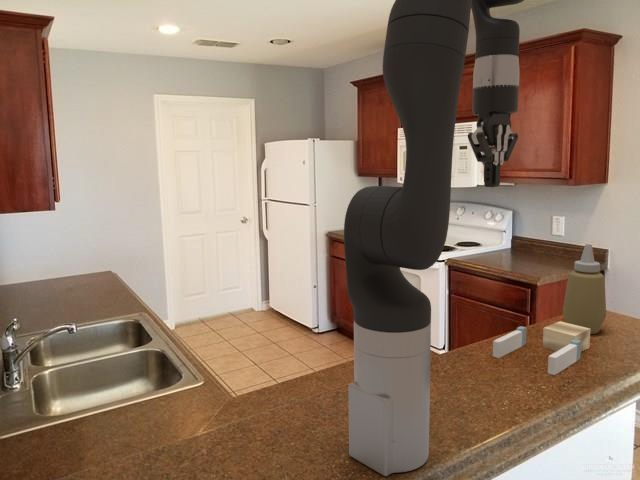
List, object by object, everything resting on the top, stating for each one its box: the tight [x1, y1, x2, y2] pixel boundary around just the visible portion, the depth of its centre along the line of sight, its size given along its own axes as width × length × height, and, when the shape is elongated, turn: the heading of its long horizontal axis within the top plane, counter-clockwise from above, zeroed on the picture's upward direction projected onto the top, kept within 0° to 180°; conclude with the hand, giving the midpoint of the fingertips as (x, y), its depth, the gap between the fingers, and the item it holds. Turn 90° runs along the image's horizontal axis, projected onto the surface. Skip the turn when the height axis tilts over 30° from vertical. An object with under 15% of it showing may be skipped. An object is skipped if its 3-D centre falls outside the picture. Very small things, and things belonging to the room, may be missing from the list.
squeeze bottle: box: [562, 244, 607, 335], centre depth 107 cm, size 8×8×18 cm
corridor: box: [492, 325, 582, 376], centre depth 94 cm, size 10×11×3 cm
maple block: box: [542, 320, 591, 353], centre depth 99 cm, size 6×6×4 cm
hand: (492, 186), depth 93 cm, fingers closed
